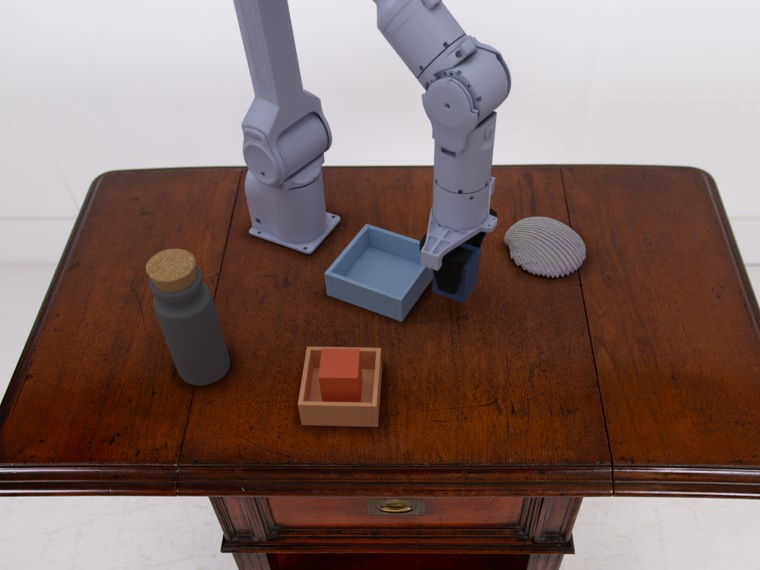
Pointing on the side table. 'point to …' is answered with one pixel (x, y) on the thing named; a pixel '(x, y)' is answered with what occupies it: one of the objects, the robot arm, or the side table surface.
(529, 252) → the seashell
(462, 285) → the slate block
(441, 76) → the robot arm
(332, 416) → the warm bin
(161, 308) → the bottle
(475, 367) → the side table surface
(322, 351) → the terracotta block
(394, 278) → the bin
